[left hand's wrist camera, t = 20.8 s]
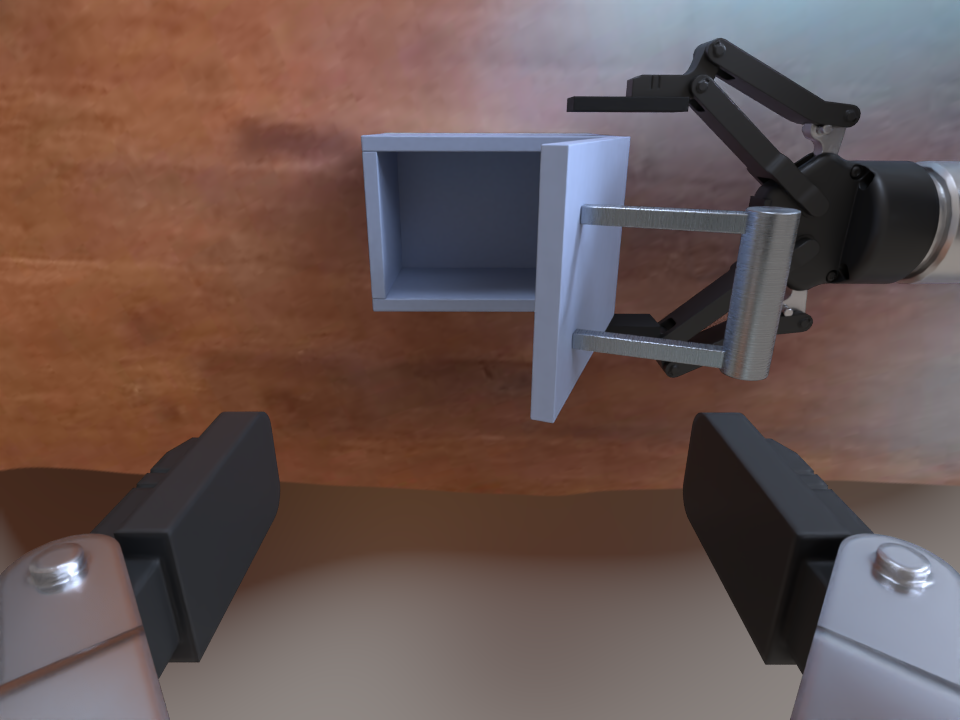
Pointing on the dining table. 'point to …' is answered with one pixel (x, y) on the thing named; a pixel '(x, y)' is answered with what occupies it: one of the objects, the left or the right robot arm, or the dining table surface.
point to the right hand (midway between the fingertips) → (562, 222)
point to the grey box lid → (594, 270)
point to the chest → (454, 219)
